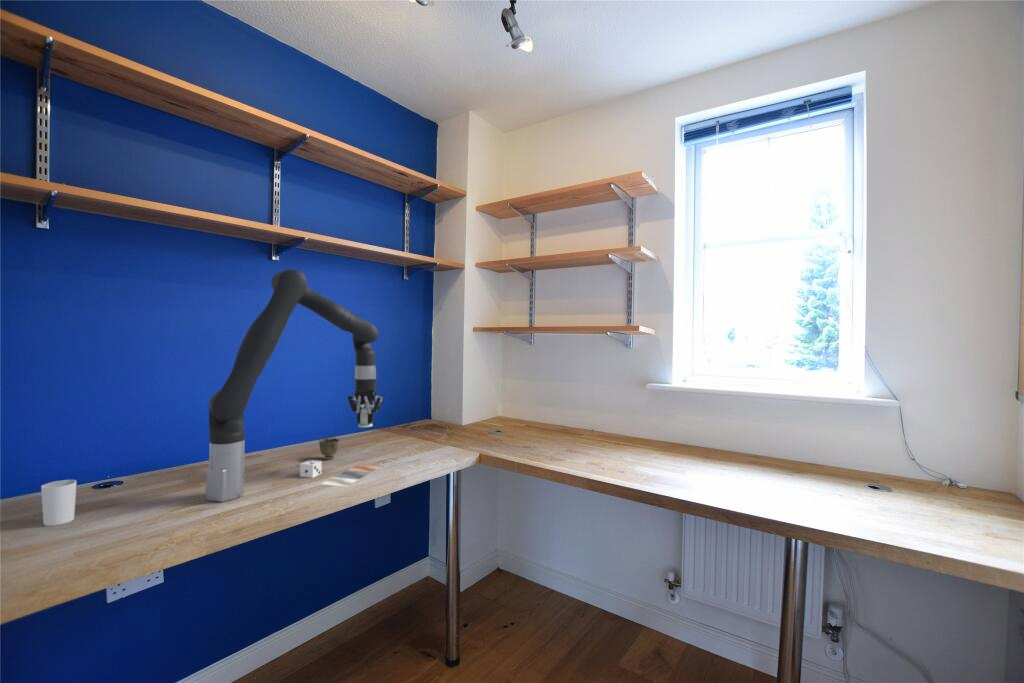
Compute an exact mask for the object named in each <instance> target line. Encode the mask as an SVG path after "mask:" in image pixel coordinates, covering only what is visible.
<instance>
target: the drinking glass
mask: <svg viewBox="0 0 1024 683" xmlns="http://www.w3.org/2000/svg"><path fill="white" fill-rule="evenodd" d="M77 484H78V483H77V480H76V479H63V480H62V479H61V480H55V481H51V482H48V483H45V484H42V485H41V486H40V487H41V488H40V490H41V504H42V522H43V525H44V526H46V527H50V526H51V527H52V526H58V525H64V524H67V523H69V522H72V521H73V520H75V510H76V509H75V508H76V496H77V495H76V494H77Z"/></svg>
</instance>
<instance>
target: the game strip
mask: <svg viewBox="0 0 1024 683" xmlns="http://www.w3.org/2000/svg"><path fill="white" fill-rule="evenodd" d="M381 467H383V468H385V467H384V466H383V465H381V466H380V465H374V464H373V465H370V464H360V463H357V464H356V465H355V466H353V467H351V468H349V469H347V470H345V471H343V472H341V473H339V474H337V475H335V476H333V477H332V478H330V479H327V480H326V481H323V482H321V485H325V486H334V487H345V488H347V487H349V486H350V485H352V484H353V483H355V482H357V481H359V480H361V479H362V478H364V477H365V476H367V475H369V474H370V473H373V472H374V471H376V470H377V469H380V468H381Z"/></svg>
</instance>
